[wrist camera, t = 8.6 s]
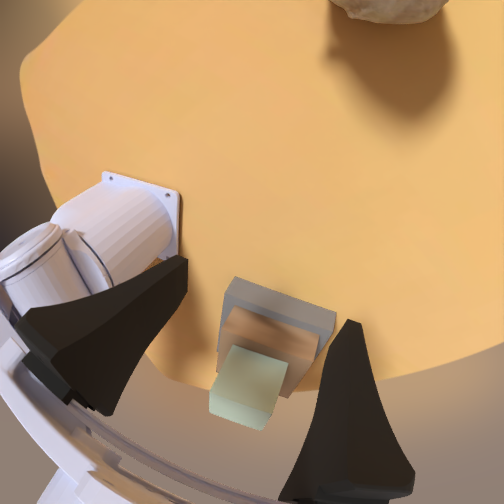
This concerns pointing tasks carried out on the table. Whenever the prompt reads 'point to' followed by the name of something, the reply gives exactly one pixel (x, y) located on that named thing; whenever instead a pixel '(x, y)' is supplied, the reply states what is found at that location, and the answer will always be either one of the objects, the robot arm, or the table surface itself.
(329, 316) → the tower base
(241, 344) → the tower top
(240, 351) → the green cube
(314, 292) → the table surface
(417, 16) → the garlic bulb
